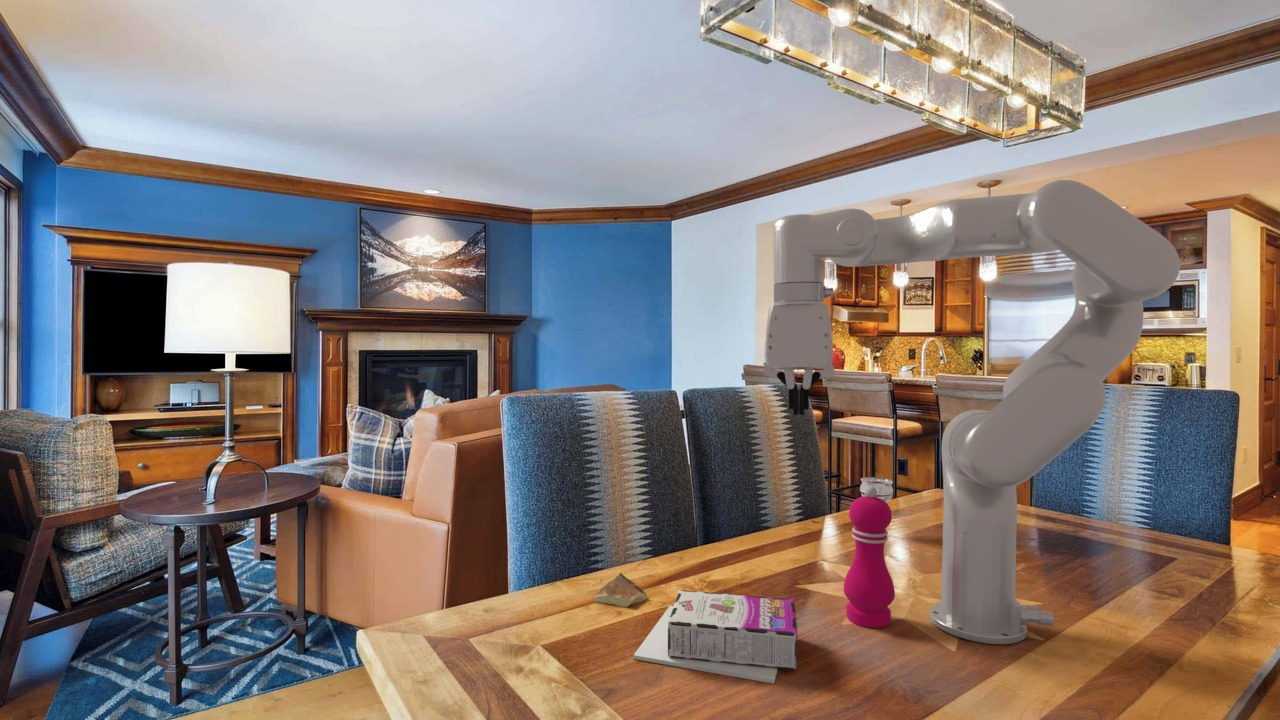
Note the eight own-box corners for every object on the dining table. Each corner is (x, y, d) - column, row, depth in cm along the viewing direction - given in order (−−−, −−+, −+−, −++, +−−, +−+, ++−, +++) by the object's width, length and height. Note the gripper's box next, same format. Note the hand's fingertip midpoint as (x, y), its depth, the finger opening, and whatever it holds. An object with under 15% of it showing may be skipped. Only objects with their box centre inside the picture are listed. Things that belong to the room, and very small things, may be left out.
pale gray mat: (788, 626, 94) (788, 622, 94) (774, 683, 78) (774, 679, 78) (669, 608, 100) (669, 605, 100) (633, 659, 84) (633, 655, 84)
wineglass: (897, 540, 136) (898, 483, 136) (865, 540, 136) (866, 483, 136) (885, 531, 143) (886, 477, 143) (854, 530, 143) (855, 476, 143)
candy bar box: (794, 633, 91) (678, 621, 94) (795, 598, 91) (679, 587, 94) (797, 673, 80) (665, 658, 83) (798, 633, 80) (666, 619, 83)
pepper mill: (888, 634, 92) (891, 494, 91) (837, 622, 96) (839, 487, 95) (898, 616, 98) (901, 485, 97) (849, 605, 102) (852, 479, 101)
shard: (620, 581, 113) (620, 571, 113) (661, 588, 110) (661, 577, 110) (592, 604, 103) (592, 593, 103) (636, 612, 100) (636, 600, 100)
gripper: (848, 296, 102) (848, 412, 102) (752, 299, 106) (753, 411, 107) (850, 293, 95) (850, 418, 95) (747, 296, 99) (747, 415, 99)
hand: (798, 414), depth 101 cm, fingers closed
